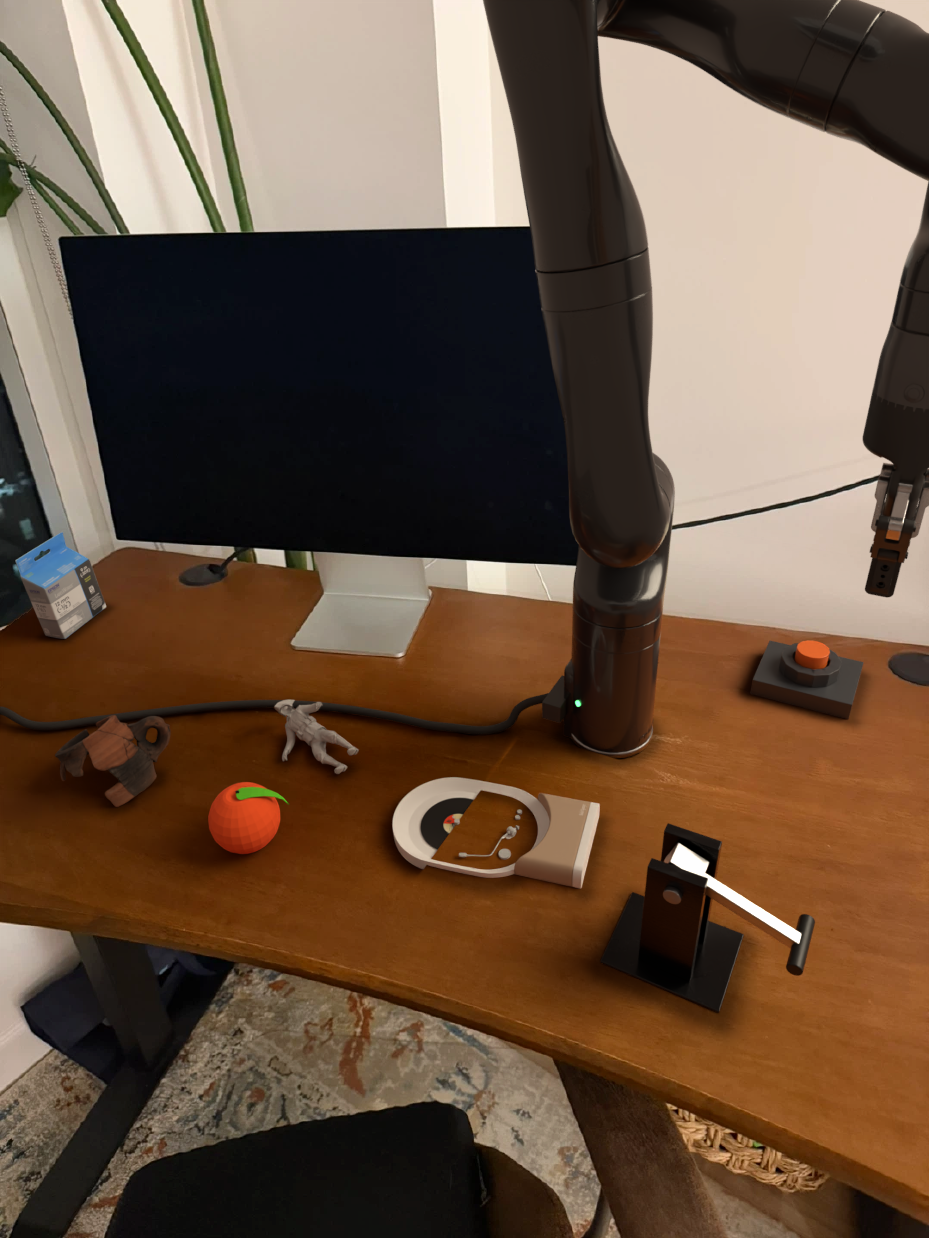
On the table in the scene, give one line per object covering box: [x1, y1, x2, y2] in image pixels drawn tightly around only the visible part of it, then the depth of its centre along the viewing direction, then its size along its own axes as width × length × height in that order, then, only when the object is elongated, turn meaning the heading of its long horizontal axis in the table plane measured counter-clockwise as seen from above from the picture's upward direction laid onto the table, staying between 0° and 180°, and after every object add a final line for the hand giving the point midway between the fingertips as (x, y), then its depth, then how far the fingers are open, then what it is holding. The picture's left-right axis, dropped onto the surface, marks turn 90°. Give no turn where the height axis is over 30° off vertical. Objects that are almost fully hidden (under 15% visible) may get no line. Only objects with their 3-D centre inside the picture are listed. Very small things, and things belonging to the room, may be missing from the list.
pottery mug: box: [54, 715, 172, 808], centre depth 94 cm, size 12×10×8 cm
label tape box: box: [15, 531, 107, 640], centre depth 119 cm, size 9×4×12 cm, turn 159°
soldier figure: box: [273, 698, 360, 775], centre depth 96 cm, size 8×5×12 cm
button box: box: [750, 640, 865, 720], centre depth 101 cm, size 11×9×4 cm
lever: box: [664, 843, 816, 977], centre depth 65 cm, size 12×5×2 cm, turn 61°
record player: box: [391, 776, 601, 890], centre depth 84 cm, size 12×3×20 cm
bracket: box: [599, 823, 745, 1014], centre depth 69 cm, size 10×8×13 cm
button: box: [795, 639, 831, 669], centre depth 100 cm, size 4×4×2 cm
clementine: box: [207, 781, 290, 855], centre depth 84 cm, size 8×7×7 cm
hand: (879, 591), depth 71 cm, fingers closed
